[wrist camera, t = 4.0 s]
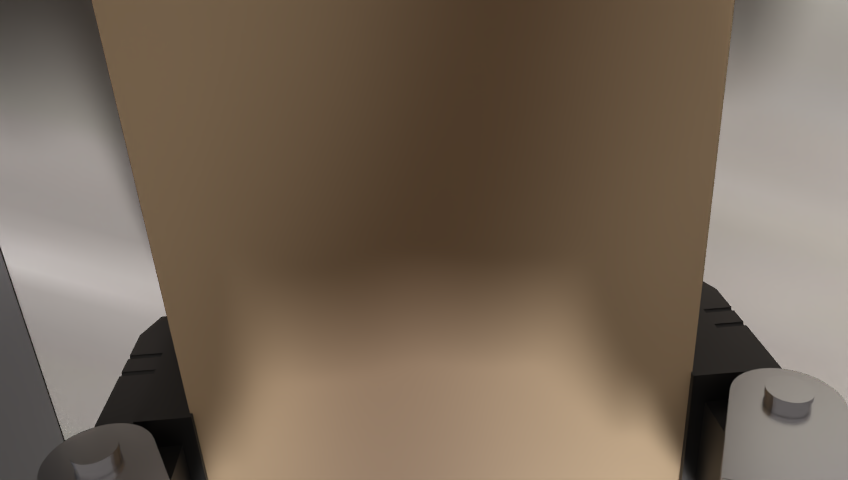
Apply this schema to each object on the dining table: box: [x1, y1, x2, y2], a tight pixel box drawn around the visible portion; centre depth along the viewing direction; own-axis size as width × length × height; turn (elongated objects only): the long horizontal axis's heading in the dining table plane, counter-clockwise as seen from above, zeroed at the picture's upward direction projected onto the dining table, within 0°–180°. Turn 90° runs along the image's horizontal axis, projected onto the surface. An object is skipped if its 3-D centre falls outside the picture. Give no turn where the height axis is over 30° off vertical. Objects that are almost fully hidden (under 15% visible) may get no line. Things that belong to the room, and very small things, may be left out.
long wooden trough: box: [92, 0, 735, 480], centre depth 11 cm, size 6×30×6 cm, turn 3°
